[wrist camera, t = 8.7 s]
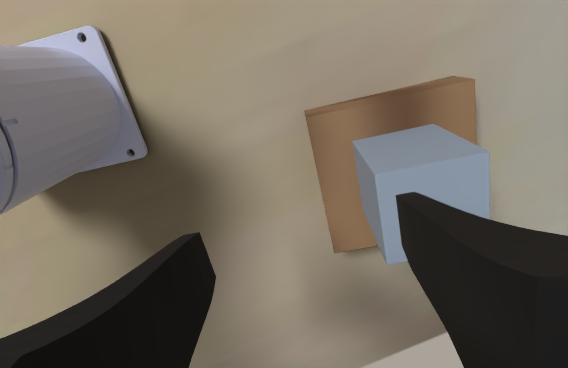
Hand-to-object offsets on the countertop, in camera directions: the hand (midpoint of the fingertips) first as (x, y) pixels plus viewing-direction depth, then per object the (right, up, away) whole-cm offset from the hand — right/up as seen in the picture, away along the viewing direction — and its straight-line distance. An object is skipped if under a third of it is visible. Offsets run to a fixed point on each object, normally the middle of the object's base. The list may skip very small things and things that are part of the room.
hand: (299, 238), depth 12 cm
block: (+6, +3, +7) cm, 10 cm away
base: (+6, +3, +10) cm, 12 cm away
